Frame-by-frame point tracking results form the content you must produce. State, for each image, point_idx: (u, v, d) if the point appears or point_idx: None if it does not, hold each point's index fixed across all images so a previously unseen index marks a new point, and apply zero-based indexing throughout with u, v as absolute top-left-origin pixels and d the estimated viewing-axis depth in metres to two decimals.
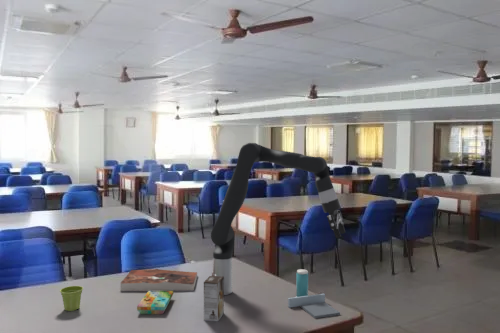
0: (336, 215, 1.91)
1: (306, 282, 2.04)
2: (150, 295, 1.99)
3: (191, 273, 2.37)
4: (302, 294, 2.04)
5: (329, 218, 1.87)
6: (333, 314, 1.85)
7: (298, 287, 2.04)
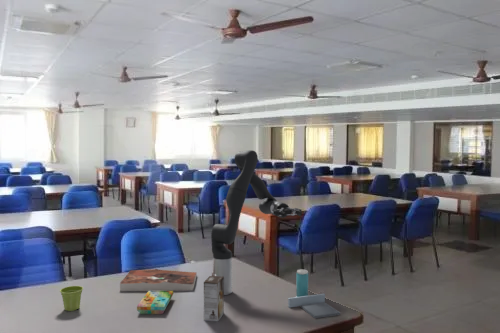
0: None
1: (306, 282, 2.04)
2: (150, 295, 1.99)
3: (191, 273, 2.37)
4: (302, 294, 2.04)
5: (272, 212, 2.21)
6: (333, 314, 1.85)
7: (298, 287, 2.04)
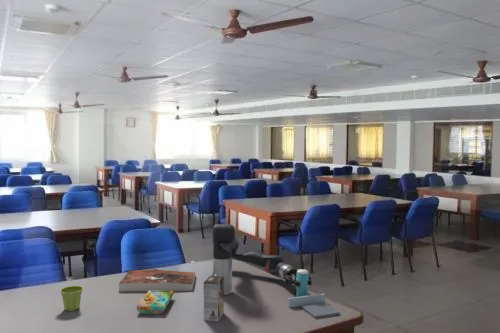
0: (291, 275, 2.12)
1: (306, 282, 2.04)
2: (150, 295, 1.99)
3: (190, 273, 2.37)
4: (302, 294, 2.04)
5: (283, 280, 2.10)
6: (333, 314, 1.85)
7: (298, 287, 2.04)
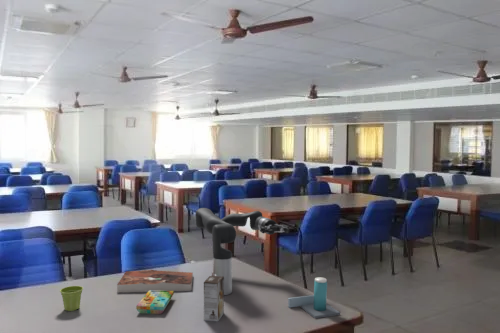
0: None
1: (325, 291, 1.88)
2: (150, 295, 1.99)
3: (187, 273, 2.37)
4: (320, 304, 1.88)
5: (260, 229, 2.18)
6: (333, 314, 1.85)
7: (316, 296, 1.88)
